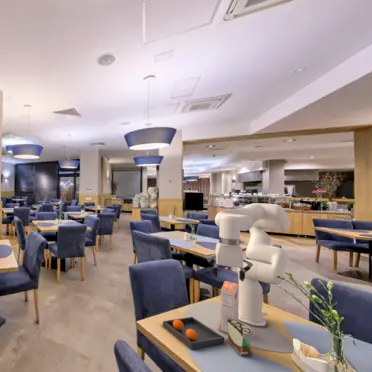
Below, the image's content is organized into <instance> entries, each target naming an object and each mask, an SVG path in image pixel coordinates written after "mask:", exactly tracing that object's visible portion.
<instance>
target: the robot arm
mask: <svg viewBox="0 0 372 372" xmlns="http://www.w3.org/2000/svg"><path fill="white" fill-rule="evenodd" d="M214 223H215V225H216V226H217V227H219V230H218V231H219V232H218V242H216V244H215V250H214V254H212V255H208V256H206V258H205V259H206V260H207V262H208V264H209V265H210V267H212V275H214V277H215V278H218V267H219V266H222V267H228V268H229V267H230V268H235V269H236V271H237V278H238V279H237V280H238V284H239V304H238V321H240V322H243V323H244V324H246V325H250V326H254V327H265V326H267V321H266V320H265V319H264V318H263V317H265V316H268V313H267V311H264V310H263V294H264V292H263V287H262V284H260V282H262V283H266V284H269V285H273V286H279V285H281V283H282V282H283V279H282V280H281V279H279V278H277V277H276V276H275V275H276V274H277V275H281V276H282V277H283V278H284V276H285V272H286V268H287V263H288V253H287V251H286V250H285V249H284V248H281V247H279V246H273V245H271V244H272V238H271V237H270V235H269V234H268V233H267V232H266V231H264V230H268V231H276V232H287V231H288V230H289V229H290V227H291V220H290V218H289V216H288V214H287V212H286V210H285V209H284V208H283V207H282V206H281V205H279V204H277V203H261V202H253V203H250V204H248V205H245V206H244V207H239V208H238V207H237V208H229V209H224V210H221V211H219V212H218V213H217V214H216V215H215V217H214ZM241 231H243V232H247V231H249V235H250V237H249V240H248V242H247V246H246V248H245V257H246V258H244V253H243V247H242V245H241V244H243V245H244V243H245V241H244V240H242V239H241ZM212 260H214V262H213V261H212Z"/></svg>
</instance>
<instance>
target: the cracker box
mask: <svg viewBox="0 0 372 372" xmlns="http://www.w3.org/2000/svg"><path fill="white" fill-rule="evenodd" d="M238 304H239V283H236V282H232V281H228V280H225V281H224V282H223V285H222V286H221V288H220V332H221V333H222V332H223V333H226V334H228V329H227V322H226V321H227V318H231V319H235V320H238V321H239V319H238Z"/></svg>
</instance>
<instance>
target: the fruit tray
mask: <svg viewBox="0 0 372 372" xmlns="http://www.w3.org/2000/svg"><path fill="white" fill-rule="evenodd" d="M174 320H180V321H181V322H182V323H183V325H184V328H183V330H181V331H179V330H176V329H175V328H174V326H173V321H174ZM162 327H163V328H164V329H166V331H168V332H169V333H171V334H172V335H173V336H174V337H176V339H178V340H179V341H180V342H182V343H183V344H184V345H185V346H187V347H188V348H189V349H191V350H195V349H201V348H205V347H212V346H217V345H221V344H225V337H224V336H223V335H222V334H220V333H218V332H217V331H215V330H213V329H212V328H211V327H209V326H207V325H206V324H204V323H203V322H201V321H200V320H198V319H196V318H195V317H193V316H187V317H183V318H182V317H180V318H174V319H168V320H167V319H166V320H163V321H162ZM188 329H193V330H194V331H195V332H196V333H197V335H198V338H197V340H196V341H191V340H189V339H188V338H187V336H186V331H187V330H188Z"/></svg>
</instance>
